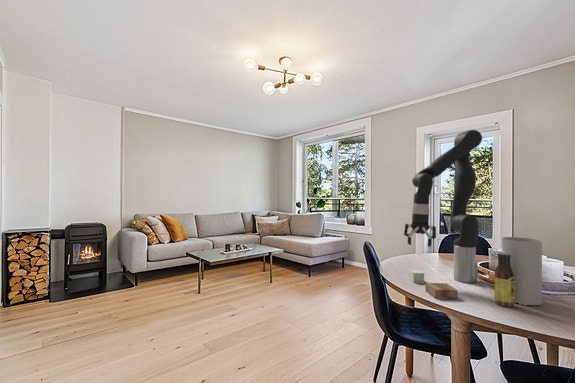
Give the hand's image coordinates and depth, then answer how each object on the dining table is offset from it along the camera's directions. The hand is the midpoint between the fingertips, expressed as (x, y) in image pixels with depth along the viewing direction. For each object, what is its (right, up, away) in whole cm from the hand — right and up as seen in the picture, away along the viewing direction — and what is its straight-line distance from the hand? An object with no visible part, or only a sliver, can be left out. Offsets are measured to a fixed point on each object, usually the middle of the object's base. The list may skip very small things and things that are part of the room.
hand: (419, 245), depth 139 cm
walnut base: (0, -18, -19) cm, 26 cm away
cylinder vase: (+30, -18, -25) cm, 43 cm away
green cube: (-2, -18, -1) cm, 18 cm away
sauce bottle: (+20, -18, -30) cm, 40 cm away
